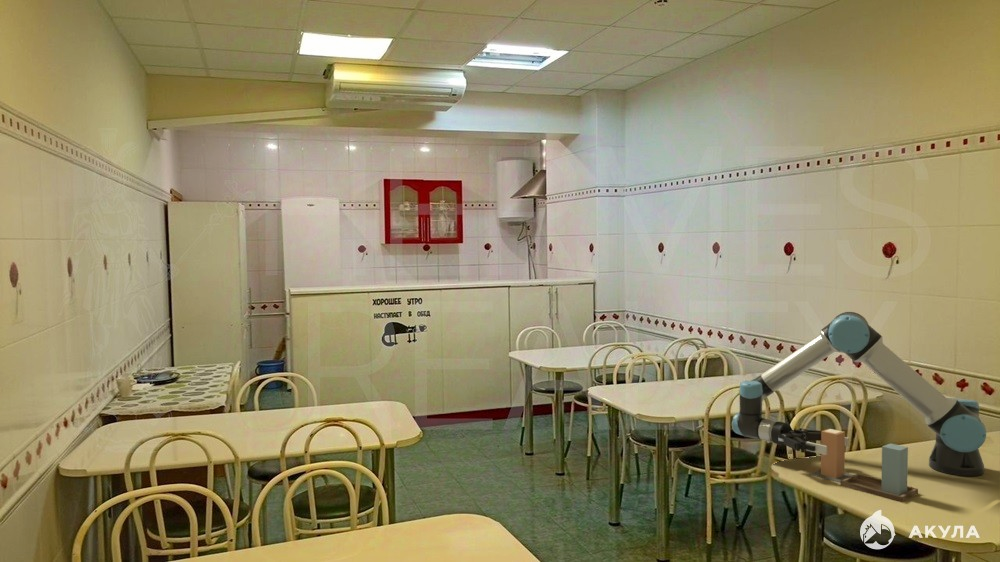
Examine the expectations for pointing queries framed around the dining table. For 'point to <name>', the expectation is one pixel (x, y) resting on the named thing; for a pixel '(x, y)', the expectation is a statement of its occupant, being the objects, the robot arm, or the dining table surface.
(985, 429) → the robot arm
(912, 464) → the dining table surface
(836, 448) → the rust box
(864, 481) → the tray
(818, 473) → the mat
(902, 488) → the slate box
